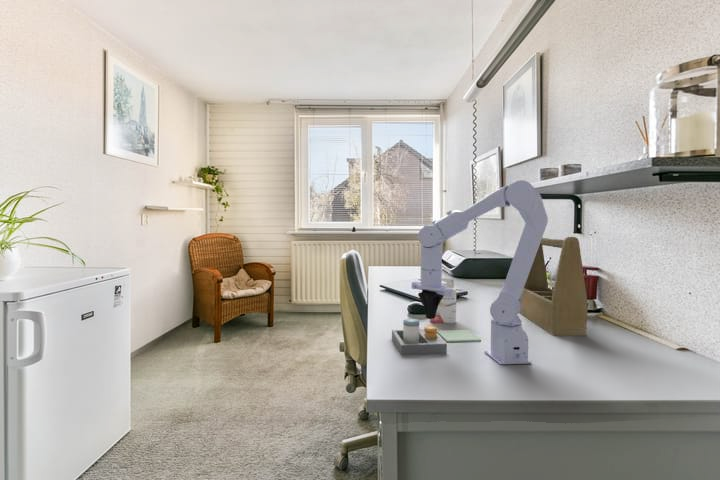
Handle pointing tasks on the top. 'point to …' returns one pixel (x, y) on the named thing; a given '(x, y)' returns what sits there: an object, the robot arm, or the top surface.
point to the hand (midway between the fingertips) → (430, 318)
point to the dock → (419, 344)
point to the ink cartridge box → (447, 305)
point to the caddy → (557, 291)
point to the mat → (458, 336)
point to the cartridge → (410, 331)
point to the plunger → (430, 332)
